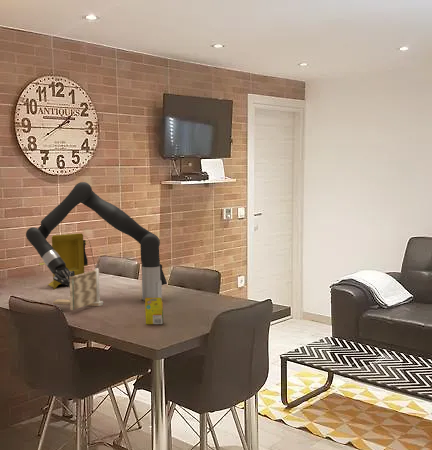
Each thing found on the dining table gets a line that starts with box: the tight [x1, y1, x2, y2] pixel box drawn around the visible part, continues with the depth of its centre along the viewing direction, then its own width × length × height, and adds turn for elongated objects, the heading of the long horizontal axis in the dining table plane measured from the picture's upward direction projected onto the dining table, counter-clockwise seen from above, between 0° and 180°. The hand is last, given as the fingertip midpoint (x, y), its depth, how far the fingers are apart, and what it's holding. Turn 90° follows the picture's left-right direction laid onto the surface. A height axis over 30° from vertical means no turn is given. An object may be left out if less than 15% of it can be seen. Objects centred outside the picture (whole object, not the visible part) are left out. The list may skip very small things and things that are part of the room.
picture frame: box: [52, 267, 104, 307], centre depth 292 cm, size 25×5×18 cm, turn 76°
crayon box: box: [144, 297, 164, 325], centre depth 255 cm, size 7×3×12 cm, turn 88°
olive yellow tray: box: [38, 232, 96, 290], centre depth 338 cm, size 31×14×30 cm, turn 125°
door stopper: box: [160, 263, 168, 286], centre depth 339 cm, size 9×6×12 cm, turn 124°
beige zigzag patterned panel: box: [69, 269, 97, 311], centre depth 280 cm, size 18×2×15 cm, turn 155°
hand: (74, 289), depth 278 cm, fingers closed
